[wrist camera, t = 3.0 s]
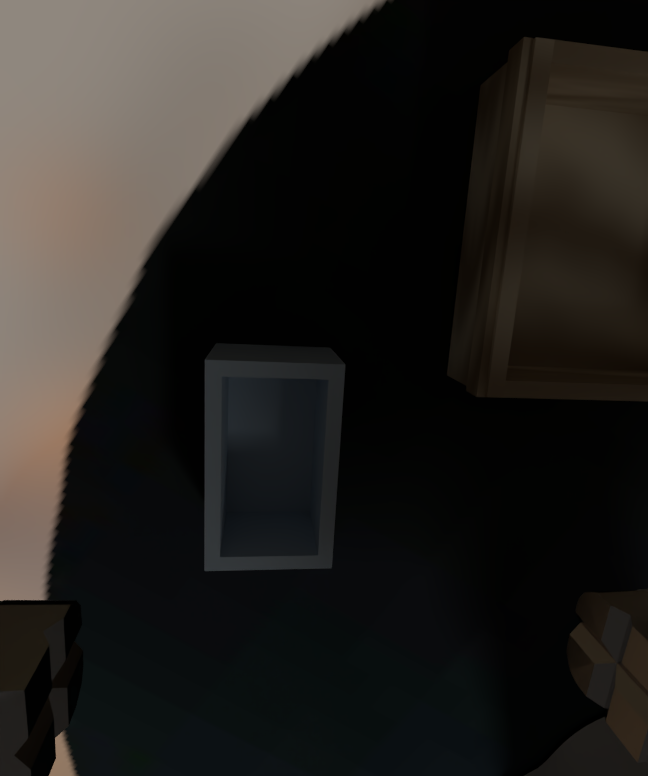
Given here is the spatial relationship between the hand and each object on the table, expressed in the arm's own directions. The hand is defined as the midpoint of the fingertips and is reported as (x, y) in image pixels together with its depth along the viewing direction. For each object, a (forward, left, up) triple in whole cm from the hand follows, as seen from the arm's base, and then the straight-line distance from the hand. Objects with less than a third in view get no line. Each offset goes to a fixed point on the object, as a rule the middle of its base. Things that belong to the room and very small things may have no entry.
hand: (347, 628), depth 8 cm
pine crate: (+8, -15, -19) cm, 25 cm away
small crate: (-3, +1, -19) cm, 19 cm away
